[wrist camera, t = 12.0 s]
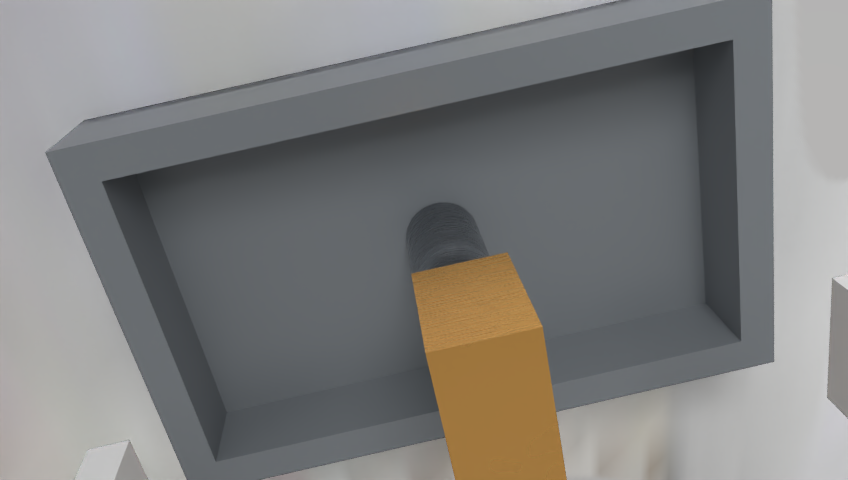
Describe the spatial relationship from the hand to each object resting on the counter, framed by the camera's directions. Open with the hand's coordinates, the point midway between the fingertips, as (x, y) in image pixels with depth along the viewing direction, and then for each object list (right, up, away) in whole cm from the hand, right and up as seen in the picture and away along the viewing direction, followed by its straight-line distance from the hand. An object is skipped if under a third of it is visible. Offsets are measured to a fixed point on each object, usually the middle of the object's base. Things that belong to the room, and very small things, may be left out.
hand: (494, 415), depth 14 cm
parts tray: (-1, +4, +9) cm, 10 cm away
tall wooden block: (-1, +3, +9) cm, 9 cm away
